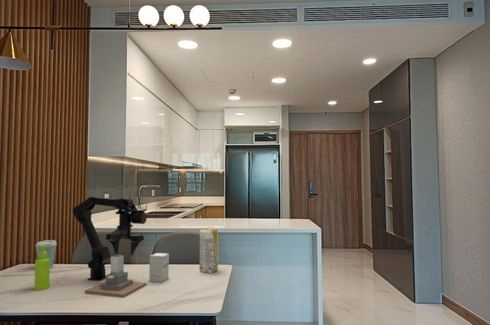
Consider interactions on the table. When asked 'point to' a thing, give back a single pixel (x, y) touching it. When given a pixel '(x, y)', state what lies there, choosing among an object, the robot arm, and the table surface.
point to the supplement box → (159, 267)
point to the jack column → (117, 265)
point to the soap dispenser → (42, 269)
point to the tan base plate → (116, 286)
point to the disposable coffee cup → (48, 250)
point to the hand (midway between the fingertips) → (124, 254)
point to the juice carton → (208, 250)
